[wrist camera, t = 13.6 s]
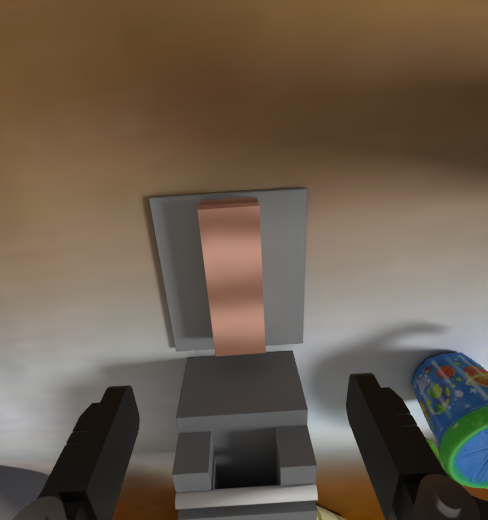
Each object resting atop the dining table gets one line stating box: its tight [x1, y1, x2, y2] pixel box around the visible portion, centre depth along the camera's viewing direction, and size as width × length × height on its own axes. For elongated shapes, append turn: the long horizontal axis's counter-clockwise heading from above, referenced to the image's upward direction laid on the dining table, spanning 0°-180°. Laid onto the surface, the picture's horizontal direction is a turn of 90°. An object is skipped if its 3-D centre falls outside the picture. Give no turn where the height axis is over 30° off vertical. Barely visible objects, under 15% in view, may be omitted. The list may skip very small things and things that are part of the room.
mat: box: [149, 188, 307, 351], centre depth 32 cm, size 17×14×1 cm
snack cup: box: [411, 352, 488, 488], centre depth 34 cm, size 16×10×10 cm
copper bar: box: [197, 197, 266, 356], centre depth 30 cm, size 15×5×3 cm, turn 4°
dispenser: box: [172, 351, 318, 520], centre depth 34 cm, size 16×12×13 cm
